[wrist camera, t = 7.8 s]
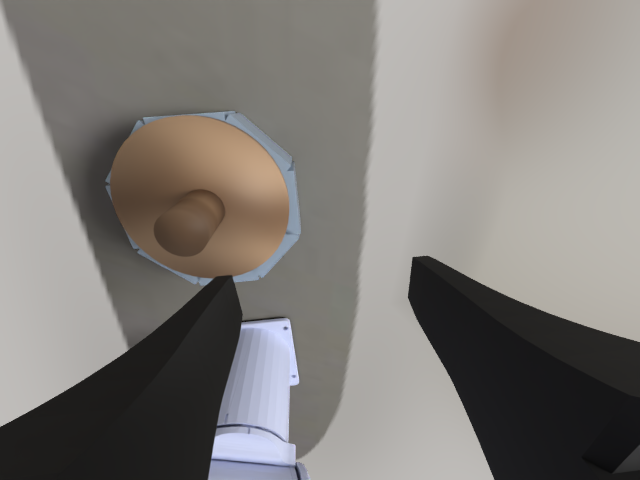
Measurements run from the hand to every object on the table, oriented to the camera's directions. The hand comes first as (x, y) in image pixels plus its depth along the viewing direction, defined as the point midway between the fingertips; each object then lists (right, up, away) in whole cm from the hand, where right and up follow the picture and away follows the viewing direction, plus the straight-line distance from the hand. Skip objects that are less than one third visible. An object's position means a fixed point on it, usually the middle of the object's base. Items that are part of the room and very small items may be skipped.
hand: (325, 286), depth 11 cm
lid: (-7, +4, +6) cm, 10 cm away
